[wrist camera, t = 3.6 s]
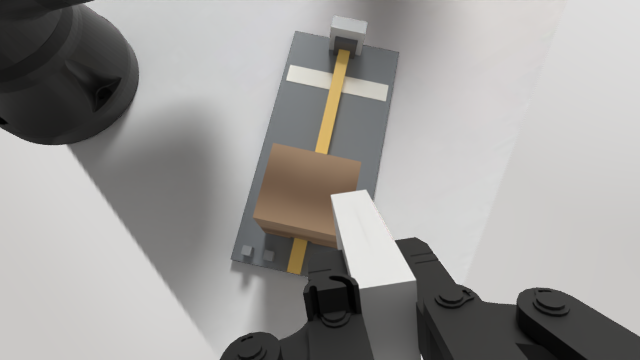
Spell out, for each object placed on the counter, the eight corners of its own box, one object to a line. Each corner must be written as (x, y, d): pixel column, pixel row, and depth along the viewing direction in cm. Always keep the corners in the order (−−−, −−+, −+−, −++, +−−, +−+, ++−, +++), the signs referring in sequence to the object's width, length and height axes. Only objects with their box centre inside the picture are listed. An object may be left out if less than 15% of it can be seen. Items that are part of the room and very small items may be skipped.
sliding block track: (356, 287, 33) (363, 287, 29) (232, 259, 34) (221, 256, 29) (397, 56, 41) (407, 30, 37) (295, 35, 41) (294, 7, 37)
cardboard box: (337, 249, 33) (346, 238, 26) (264, 232, 33) (252, 217, 26) (349, 188, 35) (361, 161, 27) (280, 173, 35) (273, 142, 28)
